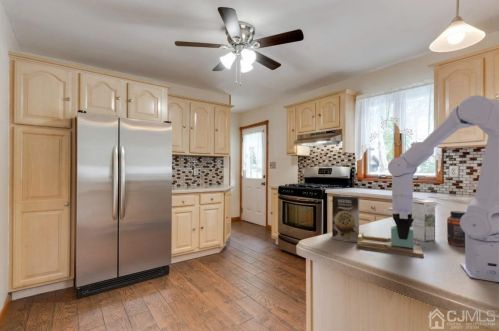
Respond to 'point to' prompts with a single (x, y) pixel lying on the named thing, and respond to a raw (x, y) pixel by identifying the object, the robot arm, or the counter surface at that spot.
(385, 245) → the slide board
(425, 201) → the syrup box
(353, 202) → the cookie box
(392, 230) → the teal block
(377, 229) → the counter surface
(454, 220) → the supplement bottle
